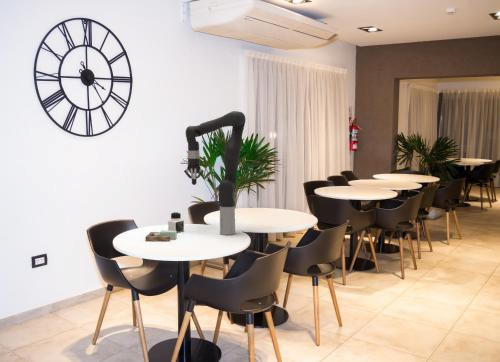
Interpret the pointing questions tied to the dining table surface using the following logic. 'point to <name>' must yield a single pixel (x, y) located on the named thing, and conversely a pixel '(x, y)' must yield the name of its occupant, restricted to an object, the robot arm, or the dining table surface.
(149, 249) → the dining table surface
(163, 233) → the bottle
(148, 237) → the tray
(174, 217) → the medicine bottle
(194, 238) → the dining table surface
